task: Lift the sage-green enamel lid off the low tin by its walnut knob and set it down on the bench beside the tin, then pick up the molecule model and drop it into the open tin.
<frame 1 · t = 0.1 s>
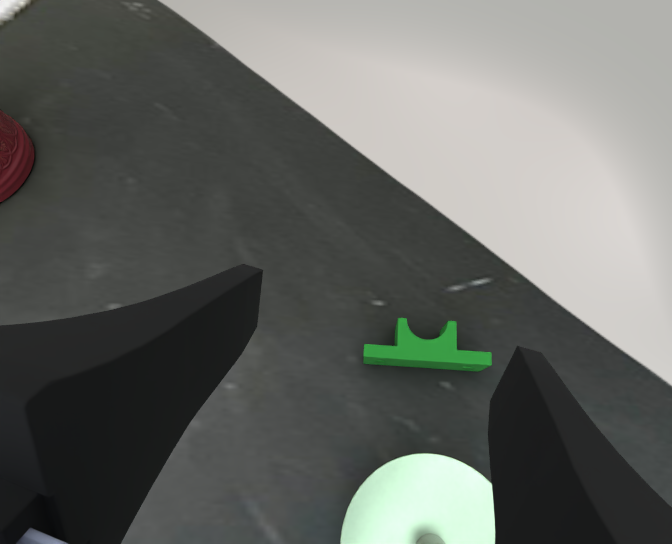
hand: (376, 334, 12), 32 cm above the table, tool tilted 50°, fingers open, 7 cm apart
pipe clamp: (421, 350, 44), on the table
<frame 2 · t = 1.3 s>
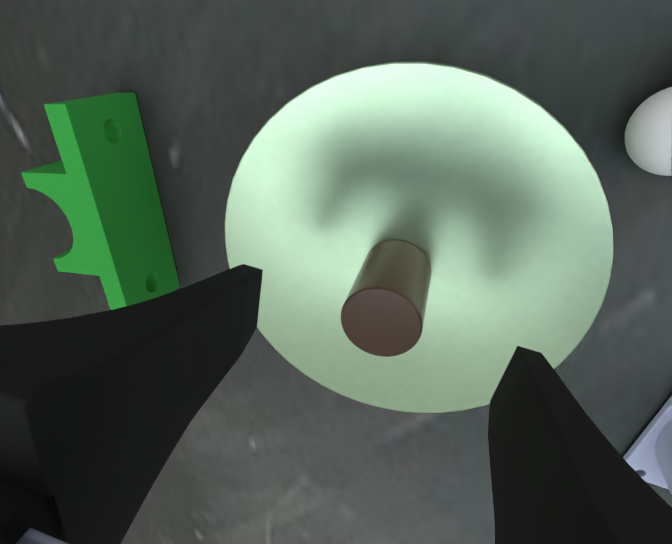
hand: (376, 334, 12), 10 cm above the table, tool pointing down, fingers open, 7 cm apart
pot lid: (398, 264, 16), point 6 cm above the table, touching pot
pipe clamp: (135, 195, 25), on the table
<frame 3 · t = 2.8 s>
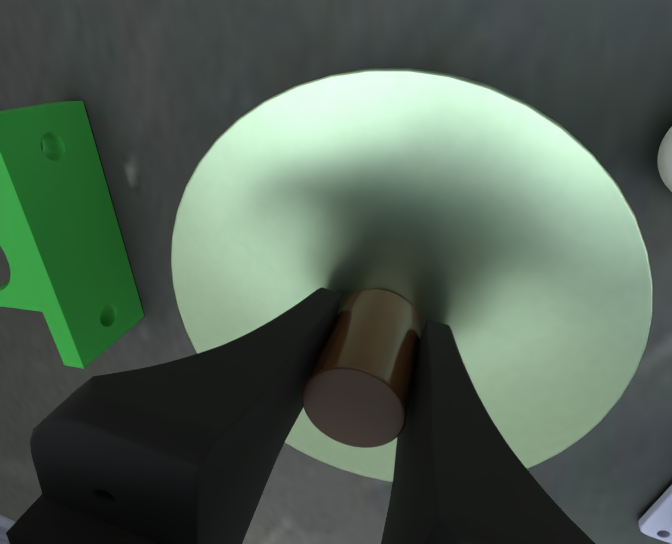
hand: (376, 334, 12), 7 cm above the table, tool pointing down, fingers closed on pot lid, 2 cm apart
pot lid: (382, 315, 13), point 6 cm above the table, touching gripper, pot
pipe clamp: (90, 216, 22), on the table
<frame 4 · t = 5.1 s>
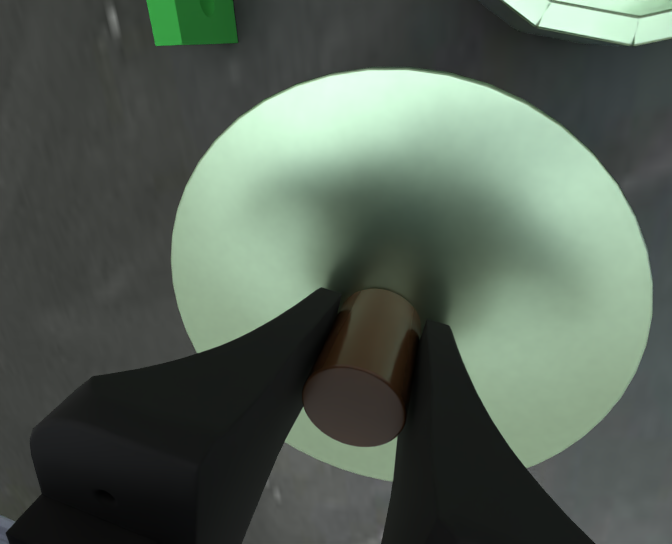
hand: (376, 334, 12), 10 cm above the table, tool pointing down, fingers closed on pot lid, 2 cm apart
pot lid: (382, 314, 13), point 9 cm above the table, touching gripper
when the fingers open (2 cm above the table, at t = 7.5 s): pot lid stays where it is, point 1 cm above the table.
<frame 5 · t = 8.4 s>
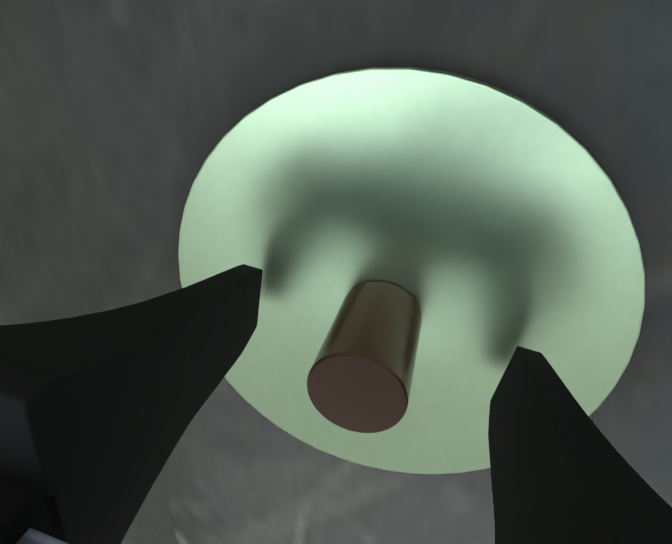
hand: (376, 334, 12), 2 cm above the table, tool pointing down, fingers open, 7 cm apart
pot lid: (383, 307, 13), point 1 cm above the table
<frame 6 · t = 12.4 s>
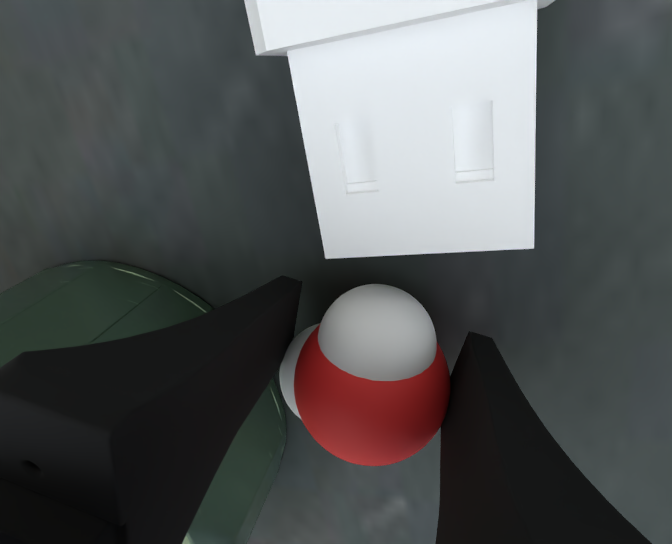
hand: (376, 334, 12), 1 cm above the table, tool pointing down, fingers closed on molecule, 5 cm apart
pot: (147, 393, 18), on the table
molecule: (375, 321, 14), on the table, touching gripper
when the fingers open (2 cm above the table, at t = 17.0 s): molecule stays where it is, resting on pot.
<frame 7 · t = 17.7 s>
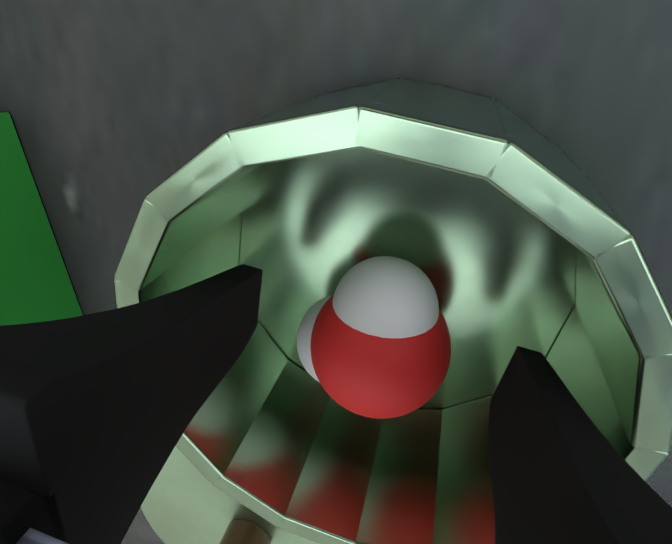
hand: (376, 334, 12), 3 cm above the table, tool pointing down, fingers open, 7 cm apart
pot: (393, 277, 15), on the table
pot lid: (253, 525, 23), point 1 cm above the table
pipe clamp: (30, 244, 19), on the table
molecule: (383, 295, 15), resting on pot
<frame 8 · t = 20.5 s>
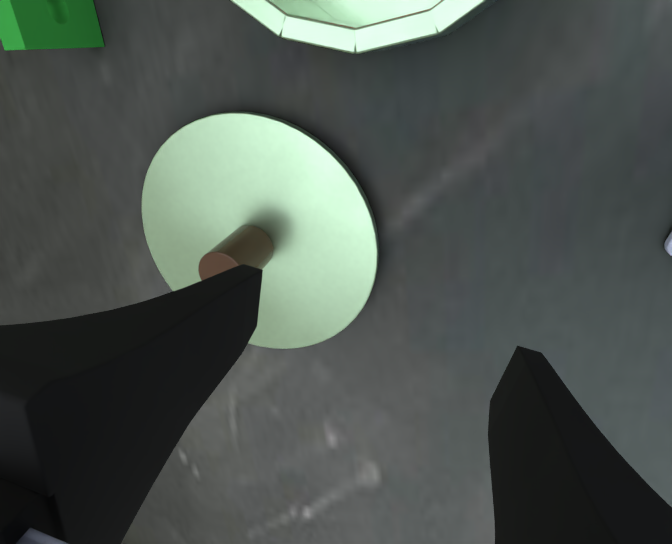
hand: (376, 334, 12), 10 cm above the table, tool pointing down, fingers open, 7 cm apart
pot lid: (256, 242, 24), point 1 cm above the table
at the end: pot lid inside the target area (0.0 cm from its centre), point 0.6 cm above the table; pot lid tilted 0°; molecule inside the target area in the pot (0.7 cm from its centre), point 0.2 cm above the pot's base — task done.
